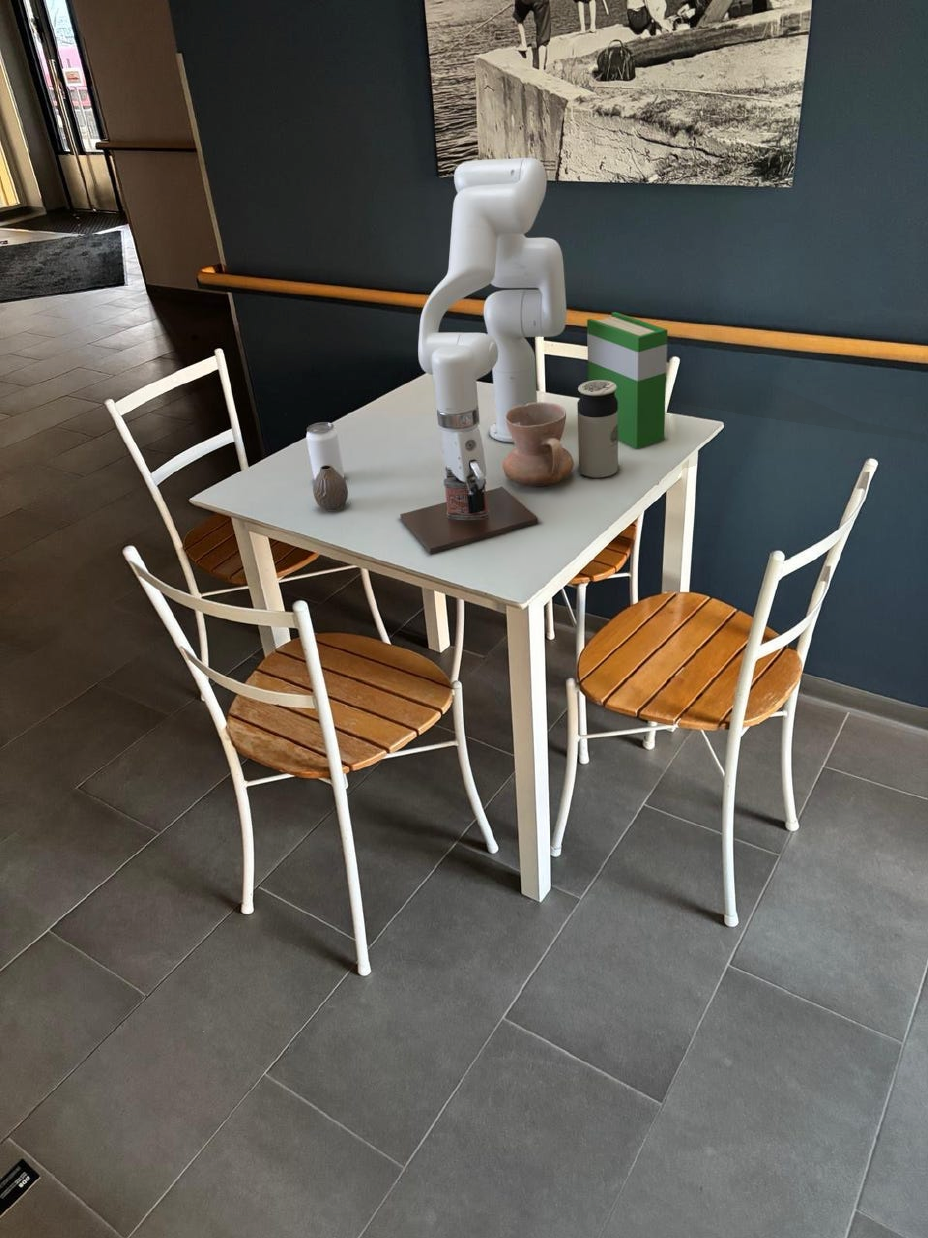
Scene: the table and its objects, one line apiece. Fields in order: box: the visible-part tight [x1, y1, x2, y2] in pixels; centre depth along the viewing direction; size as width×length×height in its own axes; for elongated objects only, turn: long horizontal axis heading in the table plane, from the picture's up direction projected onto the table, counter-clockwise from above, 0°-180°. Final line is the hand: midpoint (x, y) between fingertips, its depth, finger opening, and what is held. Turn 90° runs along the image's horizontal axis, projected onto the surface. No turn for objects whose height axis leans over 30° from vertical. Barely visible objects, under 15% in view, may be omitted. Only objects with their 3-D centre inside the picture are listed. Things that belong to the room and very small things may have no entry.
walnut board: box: [399, 486, 539, 555], centre depth 181 cm, size 22×16×1 cm
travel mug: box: [576, 380, 619, 479], centre depth 190 cm, size 8×8×18 cm
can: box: [305, 421, 345, 481], centre depth 199 cm, size 6×6×12 cm
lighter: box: [443, 468, 489, 520], centre depth 178 cm, size 8×3×10 cm, turn 79°
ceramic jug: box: [502, 401, 575, 487], centre depth 190 cm, size 18×14×14 cm
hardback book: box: [586, 311, 669, 450], centre depth 203 cm, size 18×7×24 cm, turn 29°
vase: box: [312, 465, 349, 512], centre depth 189 cm, size 7×7×9 cm
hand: (466, 501), depth 179 cm, fingers open, 9 cm apart
